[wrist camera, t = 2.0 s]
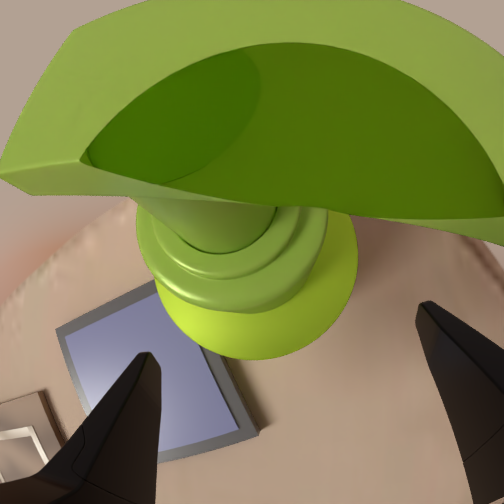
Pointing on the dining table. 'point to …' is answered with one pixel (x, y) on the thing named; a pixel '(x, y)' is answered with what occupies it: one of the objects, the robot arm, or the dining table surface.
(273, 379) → the dining table surface
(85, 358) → the ink pad
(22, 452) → the board
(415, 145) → the soap dispenser
